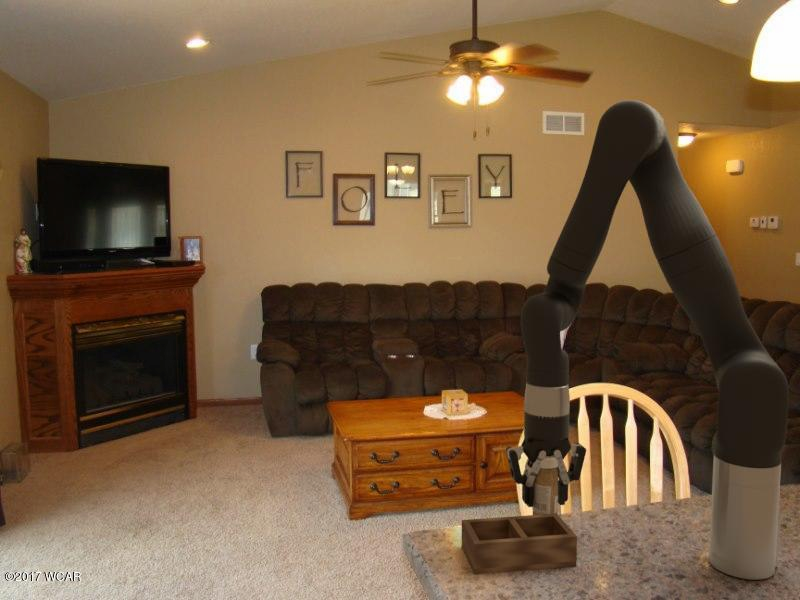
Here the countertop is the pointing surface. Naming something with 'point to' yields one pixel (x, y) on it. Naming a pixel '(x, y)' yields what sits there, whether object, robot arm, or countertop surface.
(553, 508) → the sprinkles bottle
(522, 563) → the spice caddy
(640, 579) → the countertop surface
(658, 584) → the countertop surface
